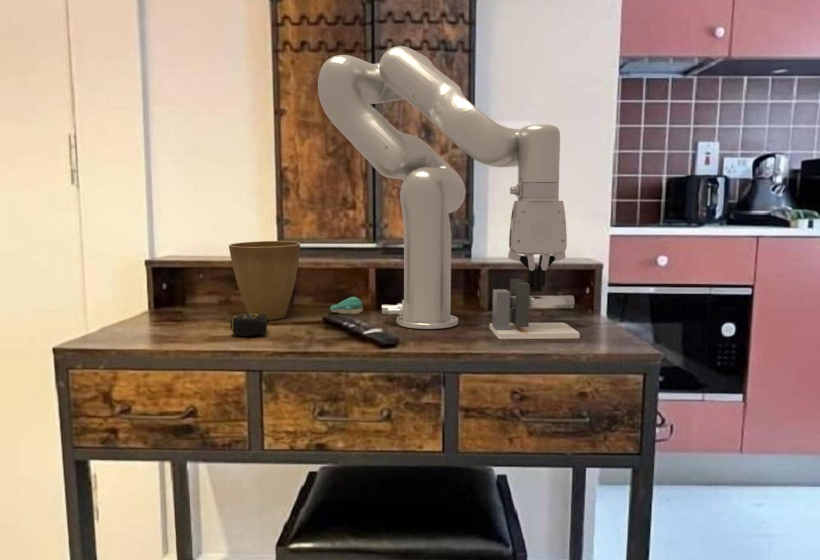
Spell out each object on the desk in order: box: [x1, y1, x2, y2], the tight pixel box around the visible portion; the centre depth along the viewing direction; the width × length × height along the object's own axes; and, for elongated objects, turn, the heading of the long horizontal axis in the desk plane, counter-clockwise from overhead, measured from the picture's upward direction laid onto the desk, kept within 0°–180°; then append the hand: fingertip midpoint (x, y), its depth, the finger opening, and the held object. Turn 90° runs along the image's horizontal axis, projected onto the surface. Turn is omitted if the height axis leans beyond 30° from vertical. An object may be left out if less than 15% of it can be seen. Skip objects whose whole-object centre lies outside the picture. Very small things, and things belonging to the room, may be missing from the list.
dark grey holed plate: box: [509, 278, 531, 327], centre depth 124 cm, size 2×8×8 cm, turn 3°
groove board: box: [489, 322, 581, 340], centre depth 125 cm, size 15×10×1 cm, turn 93°
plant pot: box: [228, 240, 301, 321], centre depth 140 cm, size 15×15×16 cm
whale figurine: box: [329, 296, 364, 315], centre depth 147 cm, size 6×7×4 cm
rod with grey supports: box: [491, 288, 575, 330], centre depth 125 cm, size 15×4×7 cm, turn 93°
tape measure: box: [230, 313, 270, 337], centre depth 123 cm, size 7×7×4 cm
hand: (536, 290), depth 124 cm, fingers closed
